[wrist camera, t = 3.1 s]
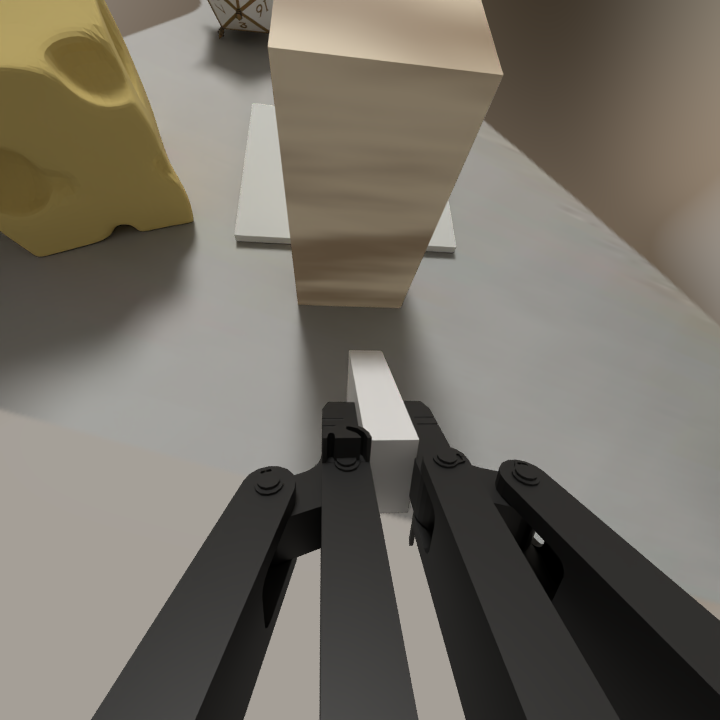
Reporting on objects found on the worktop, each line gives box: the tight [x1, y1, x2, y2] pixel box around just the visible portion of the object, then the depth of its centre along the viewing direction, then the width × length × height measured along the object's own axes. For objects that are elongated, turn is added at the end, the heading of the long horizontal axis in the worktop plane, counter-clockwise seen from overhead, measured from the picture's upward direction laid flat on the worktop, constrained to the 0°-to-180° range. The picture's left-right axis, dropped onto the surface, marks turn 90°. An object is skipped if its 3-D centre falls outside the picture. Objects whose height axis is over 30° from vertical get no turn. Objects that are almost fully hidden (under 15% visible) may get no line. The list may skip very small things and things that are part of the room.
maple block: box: [268, 0, 503, 308], centre depth 17 cm, size 4×7×14 cm, turn 92°
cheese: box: [0, 0, 193, 257], centre depth 19 cm, size 10×11×10 cm
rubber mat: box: [234, 103, 456, 253], centre depth 27 cm, size 14×16×1 cm
